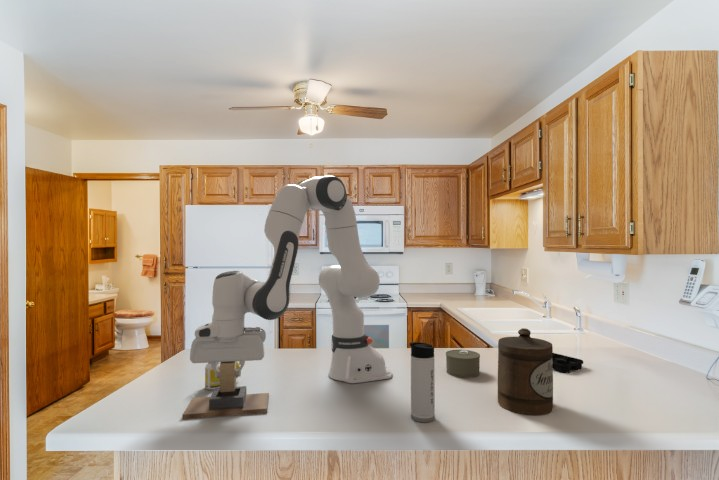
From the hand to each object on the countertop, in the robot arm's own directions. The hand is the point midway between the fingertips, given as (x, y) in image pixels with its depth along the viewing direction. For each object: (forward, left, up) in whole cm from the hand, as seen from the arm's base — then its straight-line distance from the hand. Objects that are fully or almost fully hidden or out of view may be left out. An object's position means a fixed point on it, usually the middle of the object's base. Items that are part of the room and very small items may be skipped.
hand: (228, 376), depth 117 cm
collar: (0, 0, -8) cm, 8 cm away
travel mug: (-52, +17, -9) cm, 56 cm away
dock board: (0, 0, -9) cm, 9 cm away
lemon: (+2, -22, -9) cm, 24 cm away
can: (-79, -17, -9) cm, 81 cm away
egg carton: (-115, -24, -9) cm, 118 cm away
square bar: (0, 0, -4) cm, 4 cm away
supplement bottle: (+7, -18, -9) cm, 21 cm away
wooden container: (-84, +14, -9) cm, 86 cm away
